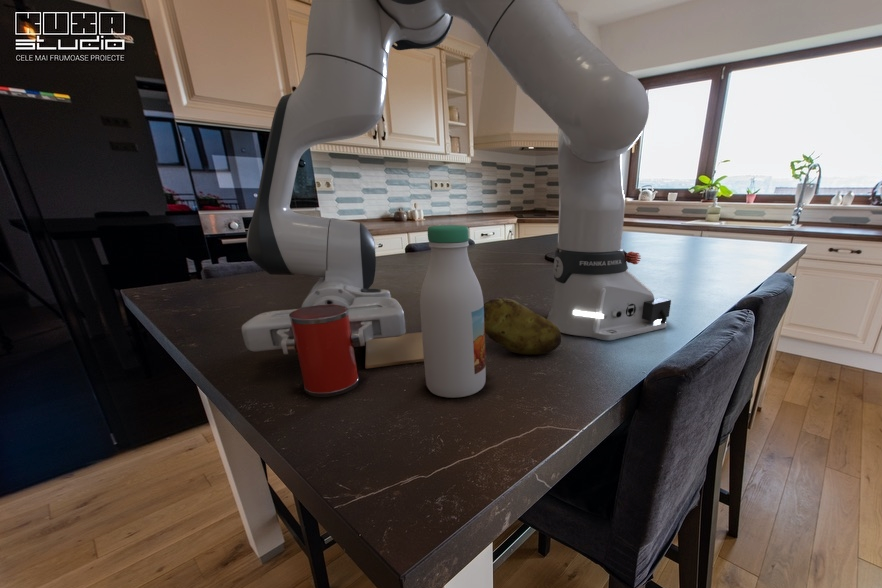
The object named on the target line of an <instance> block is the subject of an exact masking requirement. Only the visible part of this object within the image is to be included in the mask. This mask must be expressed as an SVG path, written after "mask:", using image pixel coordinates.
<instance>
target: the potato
mask: <svg viewBox="0 0 882 588" xmlns="http://www.w3.org/2000/svg"><path fill="white" fill-rule="evenodd" d="M483 304H484V325H485V335H487V337H488V338H489V339H490V340H492V341H493V342H495V343H497V344H499V345H501V347H503V348H504V349H506V350H507V351H509V352H511V353H515V354H517V355H518V354H519V355H523V356H531V355H532V356H533V355H536V356H537V355H543V354H547V353H551V352H553V351H555V350H556V349H557V348H558V347H559V346H560V345H561V343H562V332H560V330H559V328H558V327H557V326H556V325H555V324H553V323H552V322H550V321H549V320H547V318H546V317H544V316H542V315H540V314H538V313H536V312H534V311H533V310H532V309H530V308H528V307H526V306H524V305H523V304H522V303H519V302H518V301H517V300H514V299H511V298H506V297H505V298H504V297H497V298H492V299H490V300H488V301H486V302H485V303H483Z"/></svg>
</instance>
